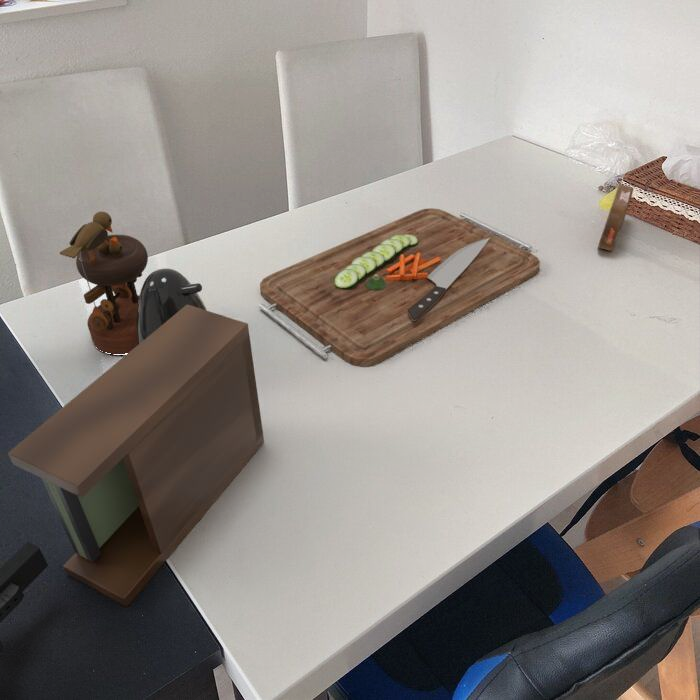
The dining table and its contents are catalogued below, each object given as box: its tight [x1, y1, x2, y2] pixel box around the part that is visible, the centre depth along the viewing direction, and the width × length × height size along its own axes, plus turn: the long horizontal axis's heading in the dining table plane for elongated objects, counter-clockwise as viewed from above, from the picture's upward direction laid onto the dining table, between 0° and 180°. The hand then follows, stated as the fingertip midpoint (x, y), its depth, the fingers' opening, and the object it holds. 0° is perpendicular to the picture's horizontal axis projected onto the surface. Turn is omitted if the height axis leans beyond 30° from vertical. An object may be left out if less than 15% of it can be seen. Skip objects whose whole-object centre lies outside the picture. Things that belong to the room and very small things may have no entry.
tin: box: [597, 182, 634, 251], centre depth 116 cm, size 15×3×8 cm, turn 155°
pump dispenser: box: [136, 267, 208, 345], centre depth 89 cm, size 10×10×15 cm
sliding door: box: [40, 458, 139, 562], centre depth 67 cm, size 2×11×14 cm, turn 152°
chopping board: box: [258, 207, 541, 368], centre depth 109 cm, size 45×27×3 cm, turn 130°
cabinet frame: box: [7, 305, 265, 608], centre depth 70 cm, size 8×24×18 cm, turn 153°
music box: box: [59, 211, 149, 354], centre depth 94 cm, size 15×11×20 cm
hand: (37, 553), depth 62 cm, fingers closed
